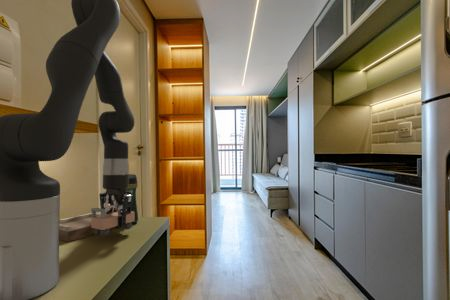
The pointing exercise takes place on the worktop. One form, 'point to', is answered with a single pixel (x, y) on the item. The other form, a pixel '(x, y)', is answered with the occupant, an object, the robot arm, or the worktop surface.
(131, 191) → the coffee jar
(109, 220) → the tan board with wheels
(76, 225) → the dock
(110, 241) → the worktop surface
